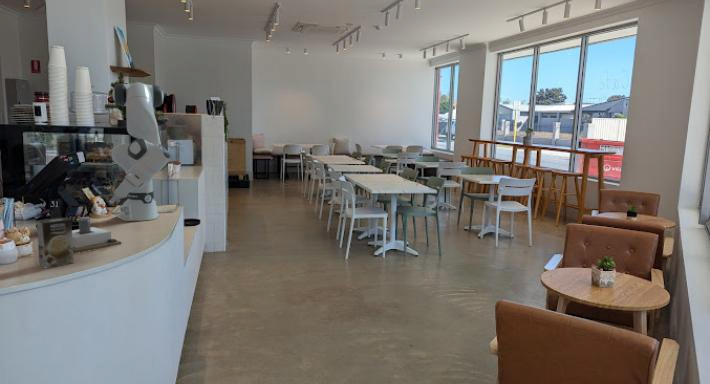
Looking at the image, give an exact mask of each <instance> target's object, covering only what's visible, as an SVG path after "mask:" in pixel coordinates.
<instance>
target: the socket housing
mask: <svg viewBox="0 0 710 384" xmlns="http://www.w3.org/2000/svg"><path fill="white" fill-rule="evenodd" d="M90 230H91V233H87V234H80V233H79V228H78V229H74V230H72V242H73V247H75V248H79V247H84V246H89V245H94V244H99V243H104V242H108V239H112V232H111V231H109V230H107V229H103V228H99V227H96V226H95V227H94V226H92V227H91V226H90Z"/></svg>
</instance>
